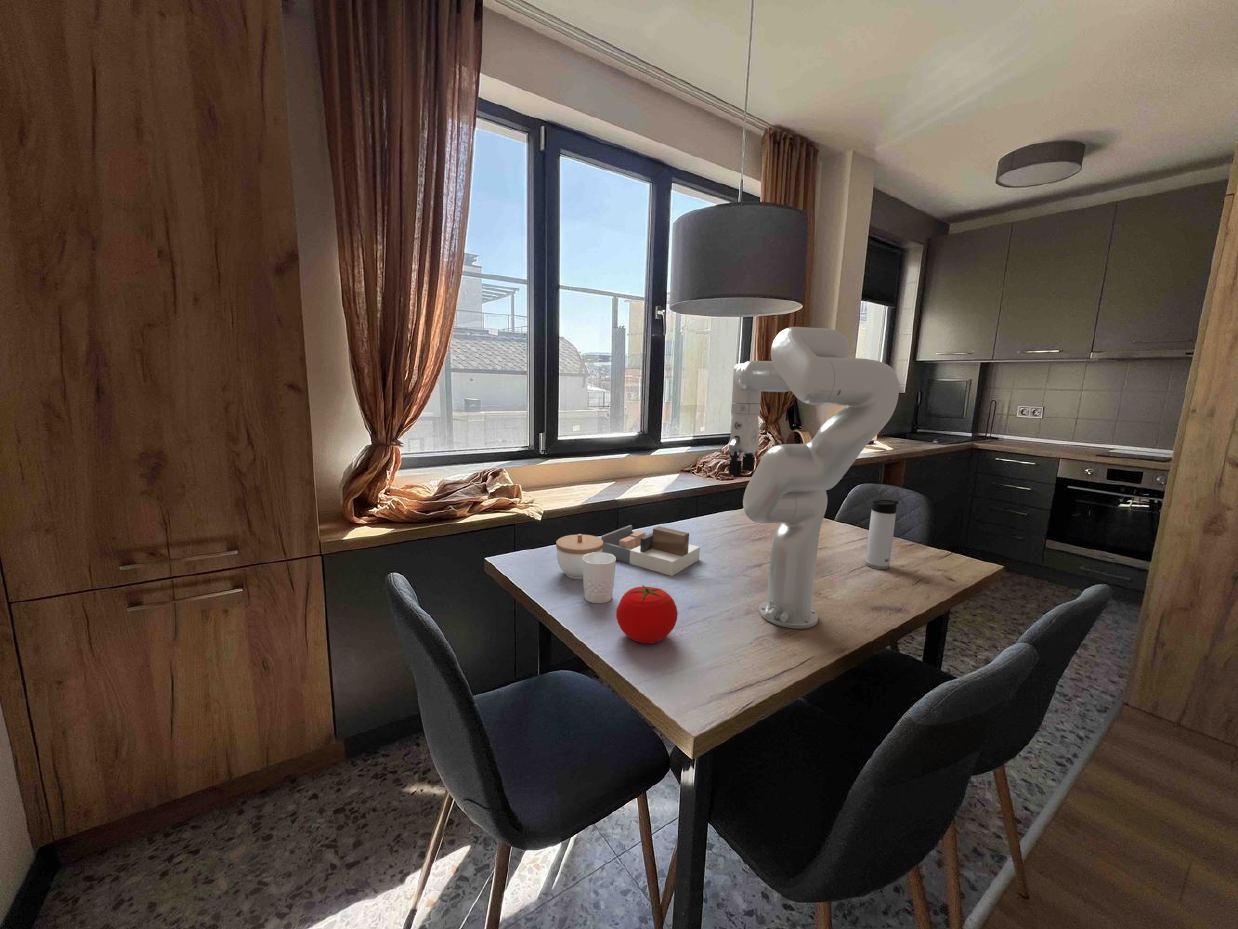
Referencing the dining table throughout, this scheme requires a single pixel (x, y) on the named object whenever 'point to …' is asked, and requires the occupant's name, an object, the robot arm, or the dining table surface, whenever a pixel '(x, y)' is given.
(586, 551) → the lidded bowl
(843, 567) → the dining table surface
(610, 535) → the tray
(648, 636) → the tomato
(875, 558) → the travel mug
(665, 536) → the scraper
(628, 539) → the tile
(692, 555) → the board
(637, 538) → the tile
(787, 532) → the robot arm
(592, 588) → the white cup
